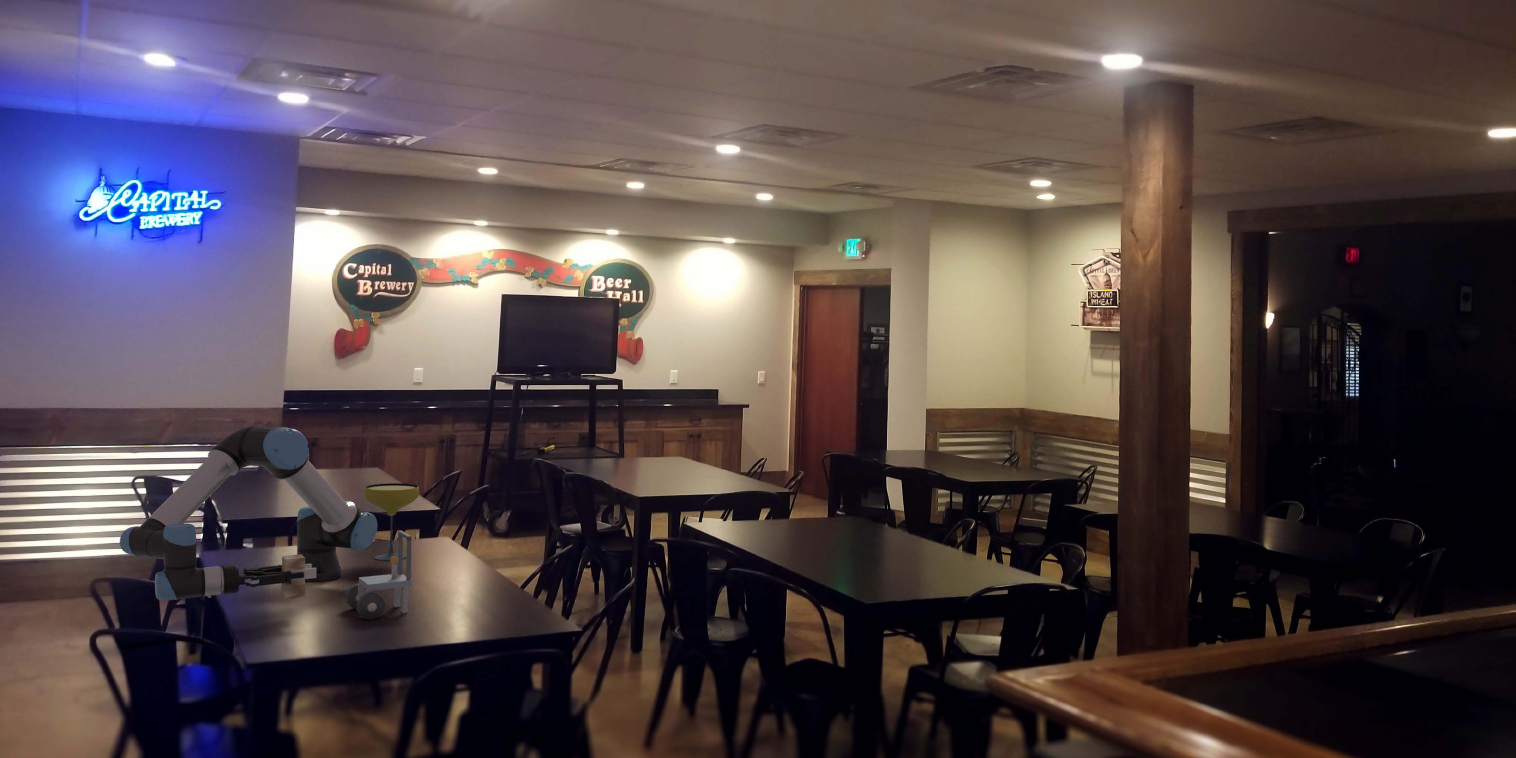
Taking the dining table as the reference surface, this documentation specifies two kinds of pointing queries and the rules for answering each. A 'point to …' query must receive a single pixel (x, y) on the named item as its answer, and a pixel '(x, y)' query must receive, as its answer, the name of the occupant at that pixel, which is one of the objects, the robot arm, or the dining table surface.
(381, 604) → the trolley
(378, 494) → the cocktail glass
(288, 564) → the block
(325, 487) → the robot arm
